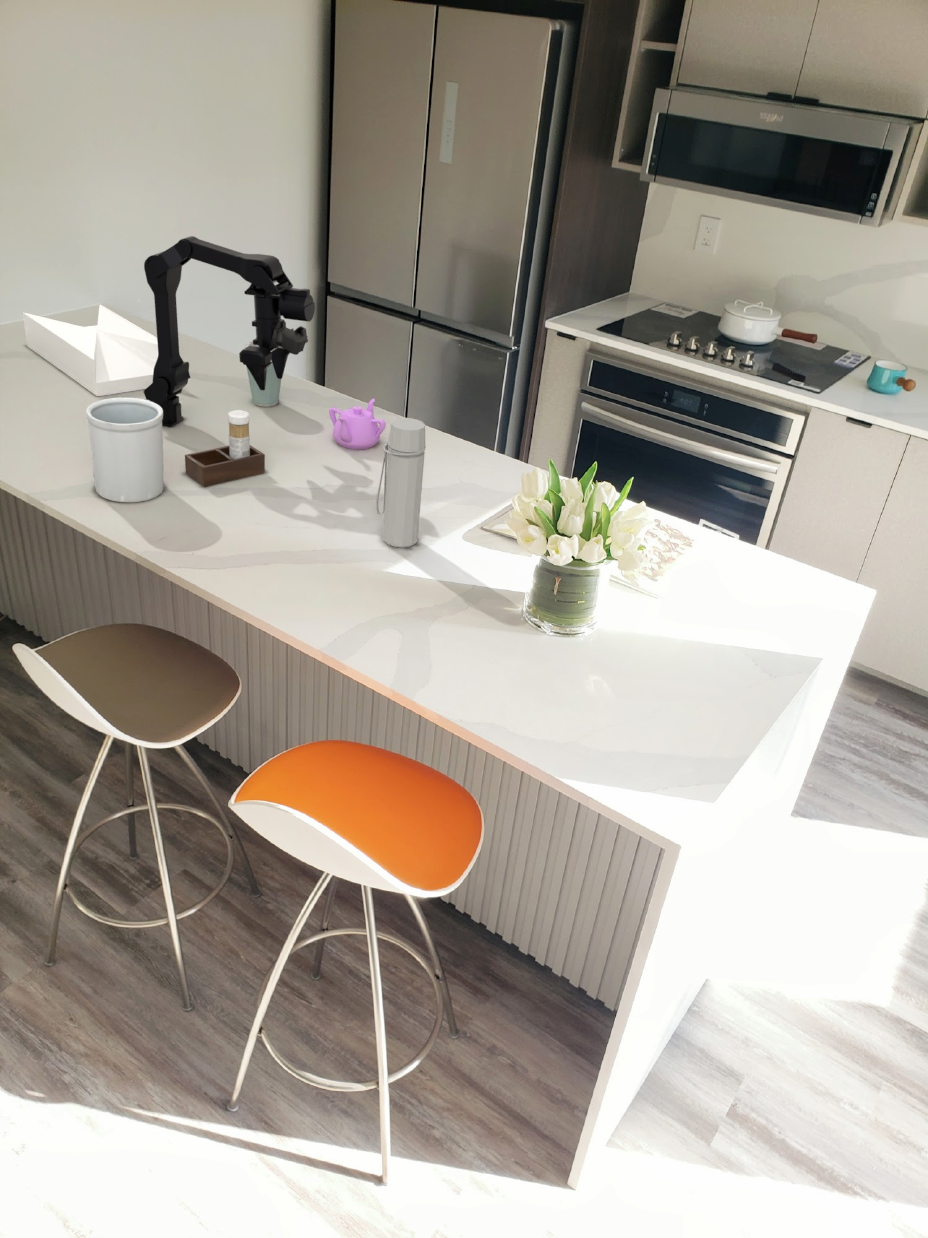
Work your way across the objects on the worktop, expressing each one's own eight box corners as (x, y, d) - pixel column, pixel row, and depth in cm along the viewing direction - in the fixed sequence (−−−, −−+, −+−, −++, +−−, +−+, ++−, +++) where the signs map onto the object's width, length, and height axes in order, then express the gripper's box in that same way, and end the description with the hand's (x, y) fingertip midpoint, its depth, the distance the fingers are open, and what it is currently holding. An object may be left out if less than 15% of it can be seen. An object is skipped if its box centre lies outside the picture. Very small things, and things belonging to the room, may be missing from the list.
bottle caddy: (185, 473, 222) (184, 454, 220) (245, 460, 231) (245, 441, 229) (204, 487, 217) (203, 467, 215) (264, 472, 226) (264, 454, 224)
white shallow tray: (177, 383, 269) (175, 348, 264) (97, 396, 256) (93, 359, 251) (102, 336, 296) (99, 303, 291) (26, 345, 283) (22, 311, 278)
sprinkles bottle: (243, 464, 229) (243, 407, 222) (253, 471, 226) (253, 414, 219) (225, 468, 227) (224, 410, 220) (235, 475, 224) (234, 417, 217)
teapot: (338, 453, 240) (339, 417, 235) (326, 431, 251) (327, 397, 246) (386, 451, 244) (388, 416, 239) (372, 430, 255) (374, 396, 250)
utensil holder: (182, 486, 216) (178, 408, 207) (135, 510, 205) (128, 429, 196) (127, 469, 221) (121, 391, 212) (78, 492, 209) (69, 411, 200)
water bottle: (423, 537, 207) (433, 421, 194) (409, 553, 201) (418, 434, 188) (382, 527, 209) (389, 412, 196) (367, 542, 203) (373, 424, 190)
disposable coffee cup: (293, 403, 265) (294, 346, 257) (265, 413, 257) (265, 355, 249) (263, 392, 270) (262, 336, 262) (234, 402, 262) (233, 345, 254)
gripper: (283, 330, 216) (286, 401, 224) (317, 310, 232) (319, 377, 240) (236, 324, 219) (240, 394, 227) (273, 305, 234) (276, 371, 242)
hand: (271, 384), depth 234 cm, fingers open, 9 cm apart
